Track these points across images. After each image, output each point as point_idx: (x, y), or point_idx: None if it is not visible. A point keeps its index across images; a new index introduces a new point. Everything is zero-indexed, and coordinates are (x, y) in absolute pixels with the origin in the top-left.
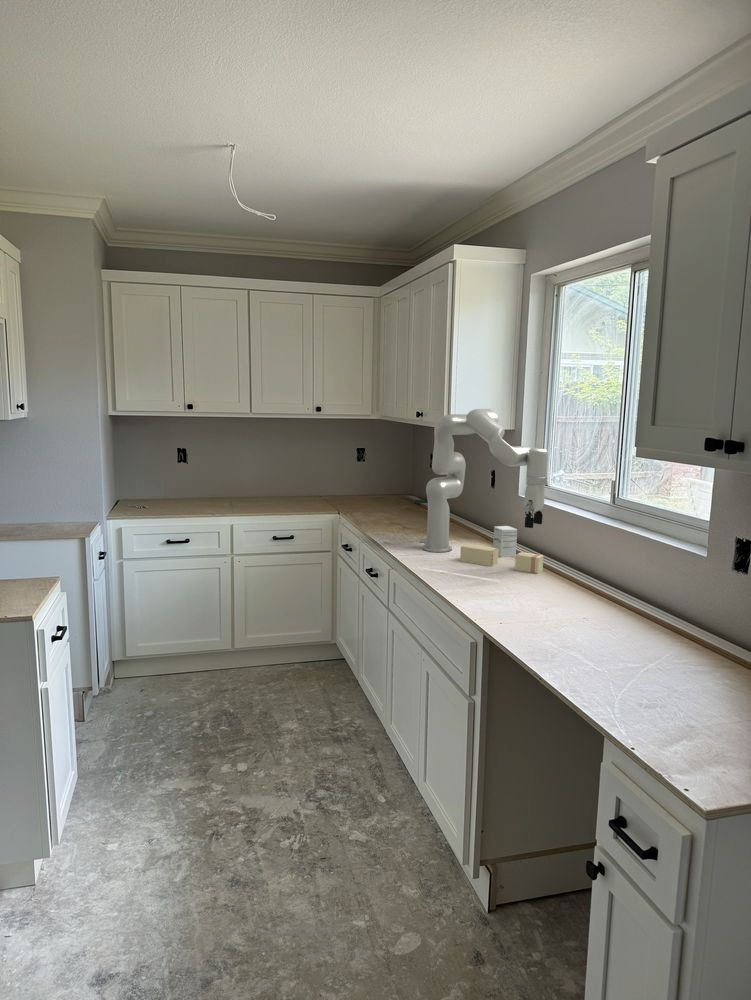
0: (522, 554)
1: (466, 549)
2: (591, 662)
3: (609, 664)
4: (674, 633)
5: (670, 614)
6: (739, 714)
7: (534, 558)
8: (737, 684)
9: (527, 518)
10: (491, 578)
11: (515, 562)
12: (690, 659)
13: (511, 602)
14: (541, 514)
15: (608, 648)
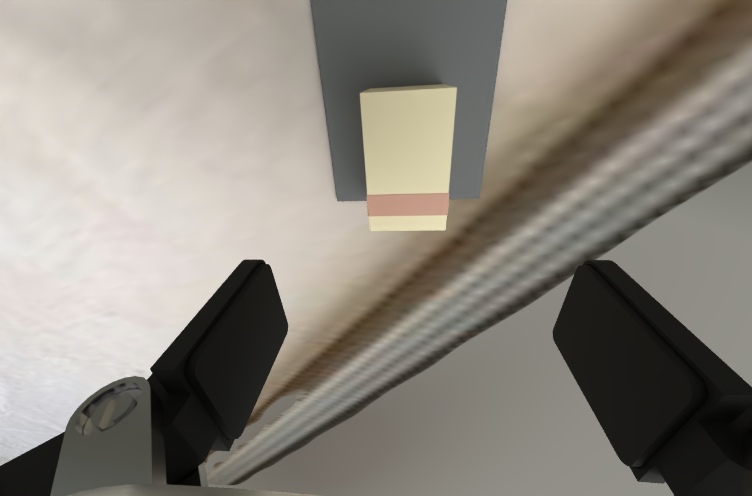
0: (392, 128)
1: None
2: (7, 402)
3: (28, 414)
4: None
5: (288, 445)
6: None
7: (368, 209)
8: None
9: (159, 384)
10: (182, 45)
11: (366, 90)
12: None
13: (53, 241)
14: (640, 466)
15: (68, 408)
